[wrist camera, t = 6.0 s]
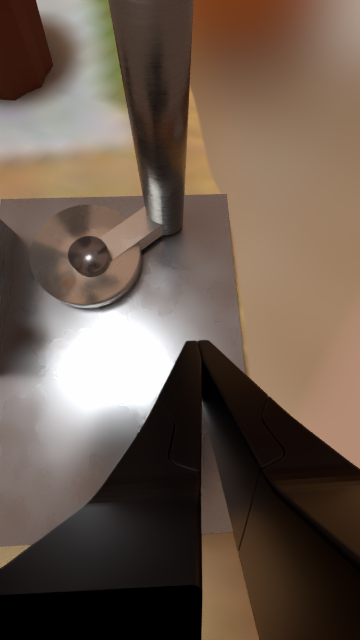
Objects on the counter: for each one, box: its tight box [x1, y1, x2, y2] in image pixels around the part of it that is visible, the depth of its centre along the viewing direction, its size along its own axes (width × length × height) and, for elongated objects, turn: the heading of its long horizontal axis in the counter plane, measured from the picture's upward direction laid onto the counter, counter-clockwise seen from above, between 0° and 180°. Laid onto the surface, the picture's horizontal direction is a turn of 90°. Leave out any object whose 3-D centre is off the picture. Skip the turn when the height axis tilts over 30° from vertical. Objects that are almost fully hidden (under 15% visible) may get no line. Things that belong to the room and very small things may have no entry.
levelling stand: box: [0, 194, 245, 547], centre depth 13 cm, size 22×17×8 cm
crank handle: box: [30, 0, 194, 308], centre depth 11 cm, size 7×11×12 cm, turn 130°
